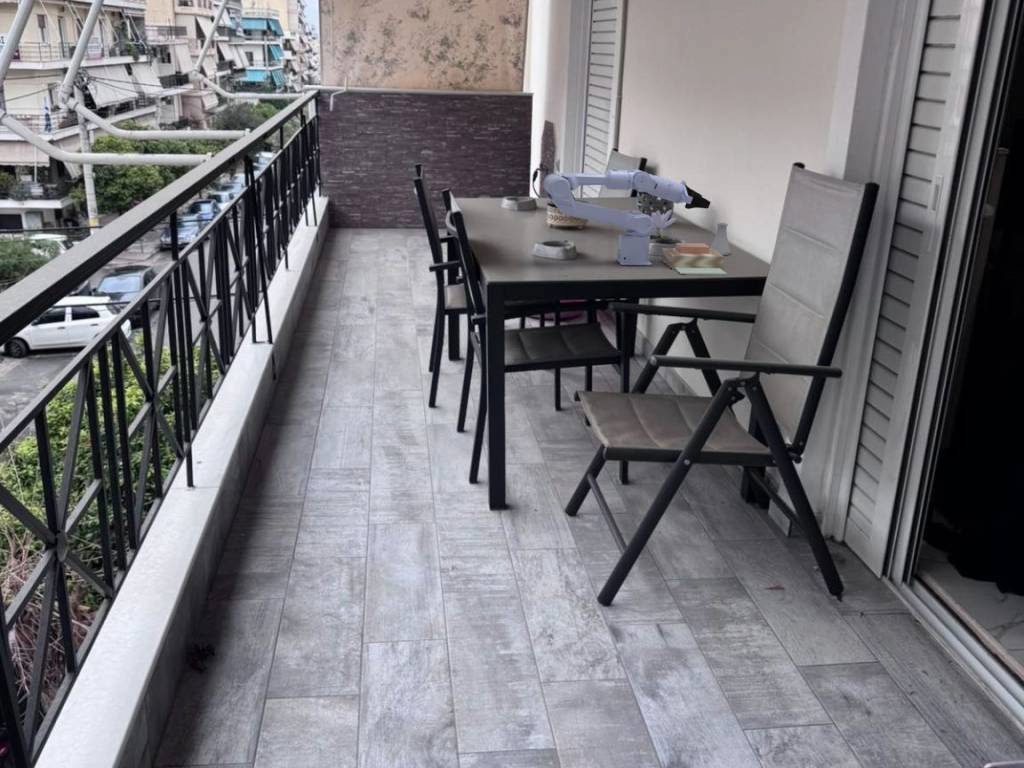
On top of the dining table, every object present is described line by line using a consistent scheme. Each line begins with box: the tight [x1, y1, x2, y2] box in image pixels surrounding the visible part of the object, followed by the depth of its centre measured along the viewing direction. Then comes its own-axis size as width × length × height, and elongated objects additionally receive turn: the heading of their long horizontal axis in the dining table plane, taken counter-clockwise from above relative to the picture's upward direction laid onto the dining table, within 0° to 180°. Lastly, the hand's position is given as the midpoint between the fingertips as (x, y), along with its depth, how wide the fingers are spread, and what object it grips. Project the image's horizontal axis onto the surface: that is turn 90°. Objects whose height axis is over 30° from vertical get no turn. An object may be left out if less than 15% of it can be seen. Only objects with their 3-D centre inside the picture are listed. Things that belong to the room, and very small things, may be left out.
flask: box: [709, 222, 732, 256], centre depth 299 cm, size 7×7×10 cm
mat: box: [673, 267, 728, 276], centre depth 274 cm, size 14×8×1 cm, turn 94°
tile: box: [675, 242, 710, 254], centre depth 282 cm, size 9×6×2 cm, turn 94°
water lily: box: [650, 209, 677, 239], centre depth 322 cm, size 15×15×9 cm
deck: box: [661, 247, 725, 271], centre depth 282 cm, size 16×12×4 cm
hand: (704, 201), depth 281 cm, fingers open, 7 cm apart
